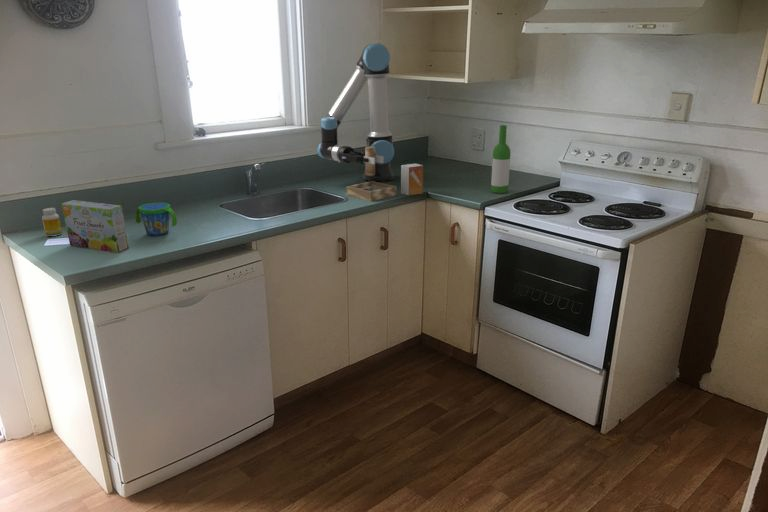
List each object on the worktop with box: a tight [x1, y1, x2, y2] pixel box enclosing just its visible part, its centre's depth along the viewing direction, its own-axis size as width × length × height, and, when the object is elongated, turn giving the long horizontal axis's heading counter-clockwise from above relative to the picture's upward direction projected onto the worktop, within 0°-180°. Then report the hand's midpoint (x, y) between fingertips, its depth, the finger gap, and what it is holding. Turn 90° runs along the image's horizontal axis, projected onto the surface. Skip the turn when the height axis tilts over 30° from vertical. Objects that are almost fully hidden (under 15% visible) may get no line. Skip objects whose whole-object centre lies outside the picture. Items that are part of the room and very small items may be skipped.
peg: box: [364, 146, 375, 176], centre depth 261 cm, size 4×4×12 cm
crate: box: [345, 181, 397, 202], centre depth 266 cm, size 16×16×4 cm
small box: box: [400, 163, 424, 196], centre depth 267 cm, size 8×6×13 cm
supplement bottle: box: [41, 207, 63, 237], centre depth 210 cm, size 5×5×10 cm
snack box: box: [61, 199, 130, 254], centre depth 195 cm, size 21×6×15 cm, turn 69°
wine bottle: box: [490, 124, 511, 194], centre depth 266 cm, size 8×8×30 cm
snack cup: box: [134, 202, 178, 236], centre depth 211 cm, size 16×10×10 cm
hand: (378, 160), depth 257 cm, fingers closed on peg, 4 cm apart
